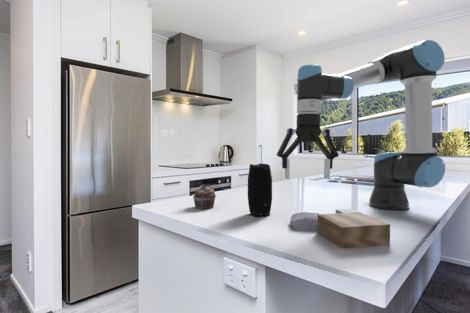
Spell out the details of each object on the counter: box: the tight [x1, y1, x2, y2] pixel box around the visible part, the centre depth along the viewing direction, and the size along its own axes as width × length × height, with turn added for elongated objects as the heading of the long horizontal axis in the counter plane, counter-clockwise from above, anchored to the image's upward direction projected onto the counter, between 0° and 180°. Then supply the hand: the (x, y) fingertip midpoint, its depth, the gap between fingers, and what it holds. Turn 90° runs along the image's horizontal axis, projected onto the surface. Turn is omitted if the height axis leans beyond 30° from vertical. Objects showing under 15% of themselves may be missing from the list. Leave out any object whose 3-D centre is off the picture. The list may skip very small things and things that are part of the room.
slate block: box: [335, 208, 362, 213], centre depth 97 cm, size 6×6×5 cm
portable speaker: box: [247, 163, 273, 218], centre depth 112 cm, size 9×9×20 cm
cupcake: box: [192, 184, 217, 211], centre depth 125 cm, size 10×10×10 cm
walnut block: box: [316, 211, 391, 250], centre depth 84 cm, size 14×14×6 cm
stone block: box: [289, 211, 320, 231], centre depth 98 cm, size 12×5×10 cm
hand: (307, 178), depth 96 cm, fingers open, 13 cm apart
